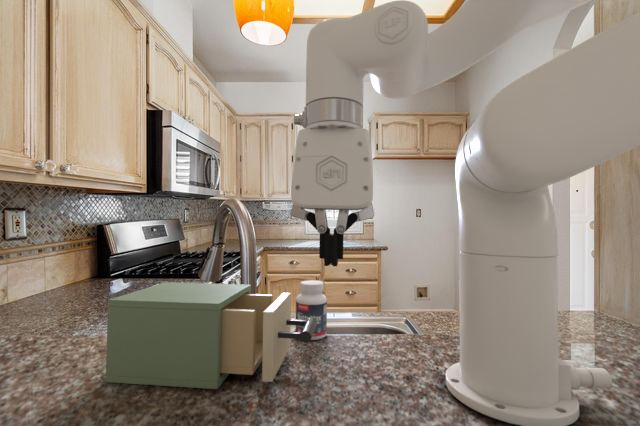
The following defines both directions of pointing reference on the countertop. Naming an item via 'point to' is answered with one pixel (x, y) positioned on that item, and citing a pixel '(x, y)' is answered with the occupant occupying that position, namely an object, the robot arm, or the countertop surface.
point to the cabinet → (169, 334)
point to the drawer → (259, 334)
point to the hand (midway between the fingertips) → (331, 264)
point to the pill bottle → (312, 307)
